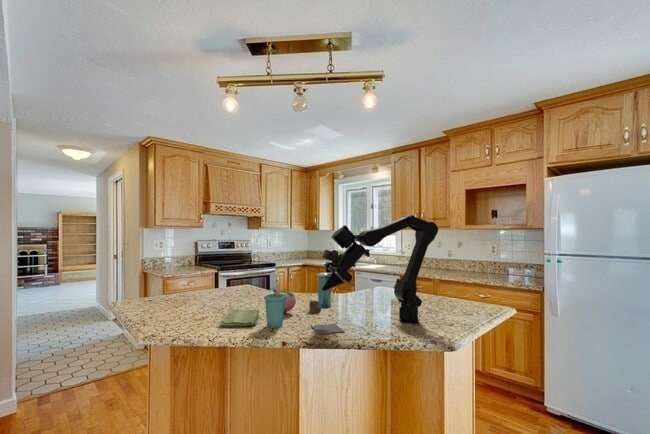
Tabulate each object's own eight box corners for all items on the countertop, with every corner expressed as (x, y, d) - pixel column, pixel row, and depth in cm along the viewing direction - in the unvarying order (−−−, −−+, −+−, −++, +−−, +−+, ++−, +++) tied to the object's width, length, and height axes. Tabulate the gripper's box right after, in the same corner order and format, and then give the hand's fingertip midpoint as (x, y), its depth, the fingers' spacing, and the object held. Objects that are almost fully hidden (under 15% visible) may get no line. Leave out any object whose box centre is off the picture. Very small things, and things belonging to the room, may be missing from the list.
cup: (285, 332, 109) (286, 287, 110) (262, 333, 108) (262, 287, 109) (285, 320, 123) (286, 280, 124) (264, 321, 122) (265, 281, 123)
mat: (334, 324, 118) (334, 323, 118) (344, 332, 110) (344, 331, 110) (311, 327, 115) (311, 326, 115) (319, 335, 106) (319, 333, 107)
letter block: (321, 309, 141) (321, 298, 141) (320, 312, 136) (320, 301, 136) (311, 309, 141) (311, 298, 141) (309, 312, 137) (309, 300, 137)
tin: (330, 305, 118) (330, 272, 119) (331, 308, 114) (332, 274, 114) (317, 305, 118) (317, 272, 119) (318, 309, 113) (318, 274, 114)
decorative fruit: (269, 314, 132) (269, 289, 132) (278, 310, 139) (278, 286, 140) (290, 316, 129) (290, 291, 129) (298, 311, 136) (298, 287, 137)
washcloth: (218, 329, 113) (218, 320, 113) (228, 315, 131) (228, 307, 131) (256, 328, 115) (256, 319, 115) (261, 315, 132) (261, 307, 132)
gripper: (328, 240, 127) (300, 270, 124) (343, 242, 109) (310, 277, 106) (348, 260, 128) (320, 290, 125) (365, 265, 110) (334, 300, 107)
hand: (321, 288), depth 116 cm, fingers closed on tin, 5 cm apart
